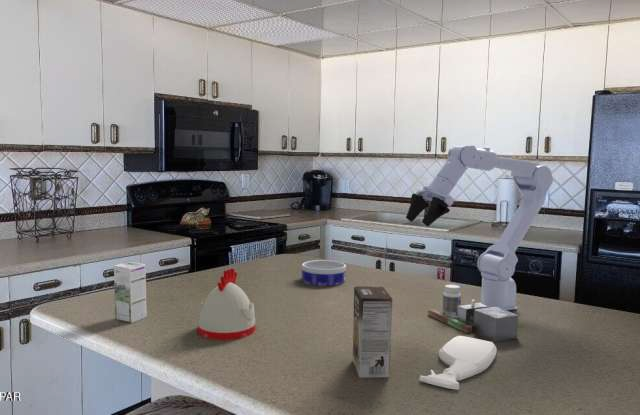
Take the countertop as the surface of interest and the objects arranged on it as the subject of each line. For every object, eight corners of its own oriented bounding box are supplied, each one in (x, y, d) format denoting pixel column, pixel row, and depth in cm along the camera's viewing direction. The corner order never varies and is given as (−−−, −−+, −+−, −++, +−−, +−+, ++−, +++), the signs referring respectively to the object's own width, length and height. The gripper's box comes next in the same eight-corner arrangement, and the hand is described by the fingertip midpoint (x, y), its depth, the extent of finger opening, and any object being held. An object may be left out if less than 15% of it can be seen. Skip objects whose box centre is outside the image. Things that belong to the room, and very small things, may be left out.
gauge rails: (459, 310, 148) (460, 305, 148) (500, 327, 134) (501, 322, 134) (428, 314, 144) (428, 309, 144) (467, 333, 129) (467, 327, 129)
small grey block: (478, 321, 138) (479, 297, 138) (497, 329, 132) (499, 304, 131) (457, 324, 136) (458, 299, 135) (476, 333, 129) (477, 307, 129)
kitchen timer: (264, 325, 133) (265, 267, 131) (239, 342, 120) (239, 278, 118) (216, 318, 137) (216, 262, 136) (186, 334, 124) (186, 273, 123)
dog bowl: (346, 287, 173) (346, 269, 173) (300, 286, 174) (300, 268, 173) (344, 276, 189) (345, 260, 188) (302, 275, 189) (303, 259, 188)
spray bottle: (500, 355, 116) (467, 399, 95) (452, 345, 122) (411, 384, 101) (500, 343, 116) (468, 384, 95) (452, 333, 121) (412, 370, 101)
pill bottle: (460, 319, 141) (461, 288, 140) (442, 317, 141) (443, 287, 141) (459, 314, 145) (460, 284, 144) (442, 312, 146) (443, 283, 145)
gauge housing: (494, 328, 133) (496, 306, 132) (517, 338, 126) (518, 315, 126) (473, 332, 130) (474, 309, 130) (494, 342, 123) (496, 318, 123)
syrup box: (147, 317, 136) (146, 263, 135) (130, 323, 131) (129, 267, 130) (131, 314, 139) (130, 260, 137) (113, 320, 134) (112, 264, 132)
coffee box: (351, 360, 111) (353, 285, 109) (381, 359, 111) (383, 285, 110) (358, 378, 102) (360, 297, 100) (390, 377, 102) (393, 297, 101)
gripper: (420, 171, 147) (392, 209, 145) (452, 175, 134) (423, 217, 132) (435, 186, 150) (408, 224, 148) (468, 191, 137) (440, 233, 135)
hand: (416, 222), depth 140 cm, fingers open, 7 cm apart
